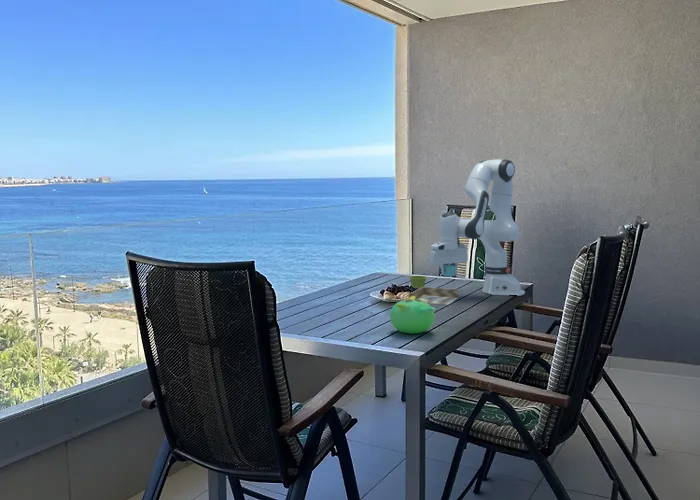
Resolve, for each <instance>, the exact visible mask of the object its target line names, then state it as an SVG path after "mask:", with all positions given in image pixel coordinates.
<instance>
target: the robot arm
mask: <svg viewBox="0 0 700 500" xmlns="http://www.w3.org/2000/svg"><path fill="white" fill-rule="evenodd" d="M515 171H516V168H515V164H514V162H513V161H512V160H509V159H499V158H498V159H497V158H495V159H489V160H488V159H485V160H481V161H479V162H478V163H477V164H475V165H474V167H473V169H472V170H471V171H470V173H469V176H468V178H467V181H466V184H465V187H464V190H465V193H466V195H467V196H468V197H469V198H470V199H471V200H473V201H475V203H476V205H475V210H474V213H473V217H472V218H463V217H460V216H458V215H457V213H456V212H445V213H443V214H441V215H440V219H439V220H440V221H439V233H440V237H439V241H437V242H435V243H433V244H431V245H430V249H431V250H430V252H429V263H430V264H431V265H432V266H438V267H439V268H440V273H441V274H442V273H445V269H443V267H442V266H443V265H452V264H453V265H454V266H456V272H457V270H458V267H459V263H467V262H468V247H467V245H466V244H464V243H461V244H460V243H459V244H458V242H459V241H458V238H464V239H470V240H473V241H474V240H477V239H480V241H481V243H482V245H483V247H484V248H483V249H484V251H485V265H484V282H483V286H482V293H485V294H488V295H490V294H491V296H509V295H517V296H516V297H519V296H524V295H525V294H526V291H525V290H523V289H521V288H522V287H521V283H520V281H519V280H518V279H517V278H516V277H514V276H513V275H512V274H511V267H508V266H507V264H508V262H507V261H508V260H507V259H508V253H507V251H506V250H505V248H503V247H502V246H501V243H500V242H502V243H504V242H505V243H507V242H508V243H509V242H515V241H516V240H517V239H518V237H519V236H520V228H519V226H518V224H517V223H516V222H515V220H514V219H513V215H512V201H513V198H512V197H513V191H514V190H513V187H514V186H513V177H514V175H515ZM490 182H492V183H493V184H492V188H491V194H490V195H489V192H488V188H489V187H490V185H489V184H490ZM489 201H490V202H489ZM488 206H489V209H490V211H491V212H492V213H494V215H495V220H494V219H493V220H491V219H486V216H487V211H488Z"/></svg>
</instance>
